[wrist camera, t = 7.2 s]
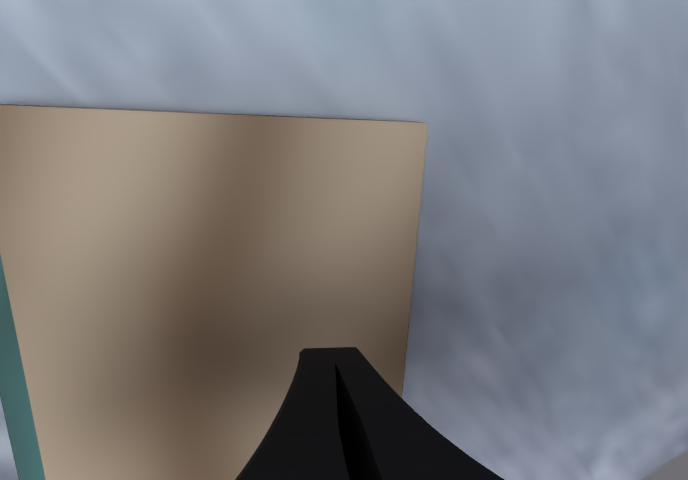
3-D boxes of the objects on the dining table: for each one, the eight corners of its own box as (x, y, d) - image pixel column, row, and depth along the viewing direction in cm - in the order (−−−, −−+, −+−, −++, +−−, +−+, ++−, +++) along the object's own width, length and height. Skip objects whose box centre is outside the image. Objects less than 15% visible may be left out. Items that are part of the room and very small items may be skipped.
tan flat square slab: (414, 122, 11) (428, 123, 10) (383, 476, 15) (391, 507, 14) (-56, 101, 10) (-100, 101, 9) (31, 502, 13) (7, 538, 12)
